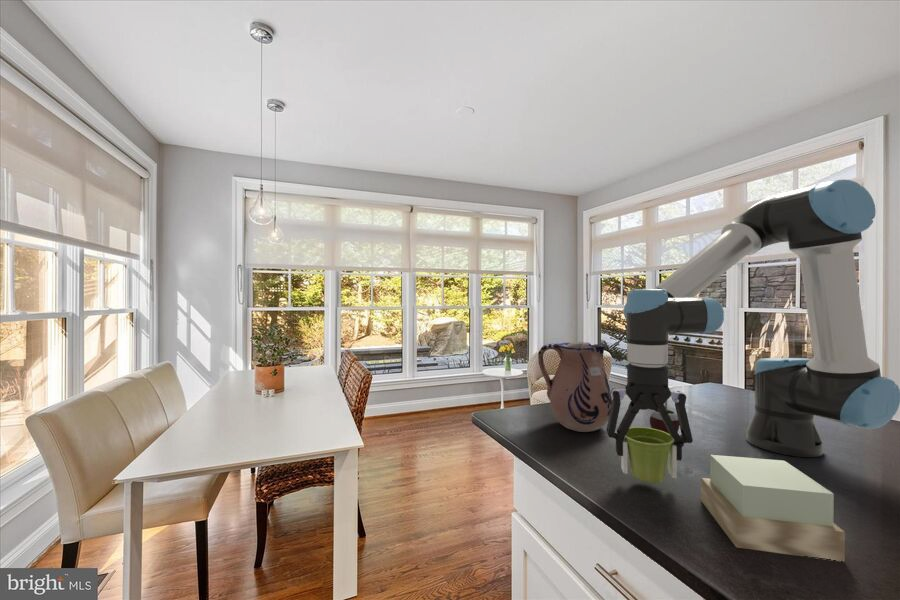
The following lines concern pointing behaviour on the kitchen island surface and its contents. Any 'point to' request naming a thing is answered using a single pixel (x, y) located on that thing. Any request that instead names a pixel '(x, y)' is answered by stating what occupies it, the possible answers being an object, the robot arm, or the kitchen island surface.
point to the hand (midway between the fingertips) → (648, 472)
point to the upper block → (771, 490)
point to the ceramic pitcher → (578, 386)
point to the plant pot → (648, 453)
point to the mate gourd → (658, 423)
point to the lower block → (773, 530)
